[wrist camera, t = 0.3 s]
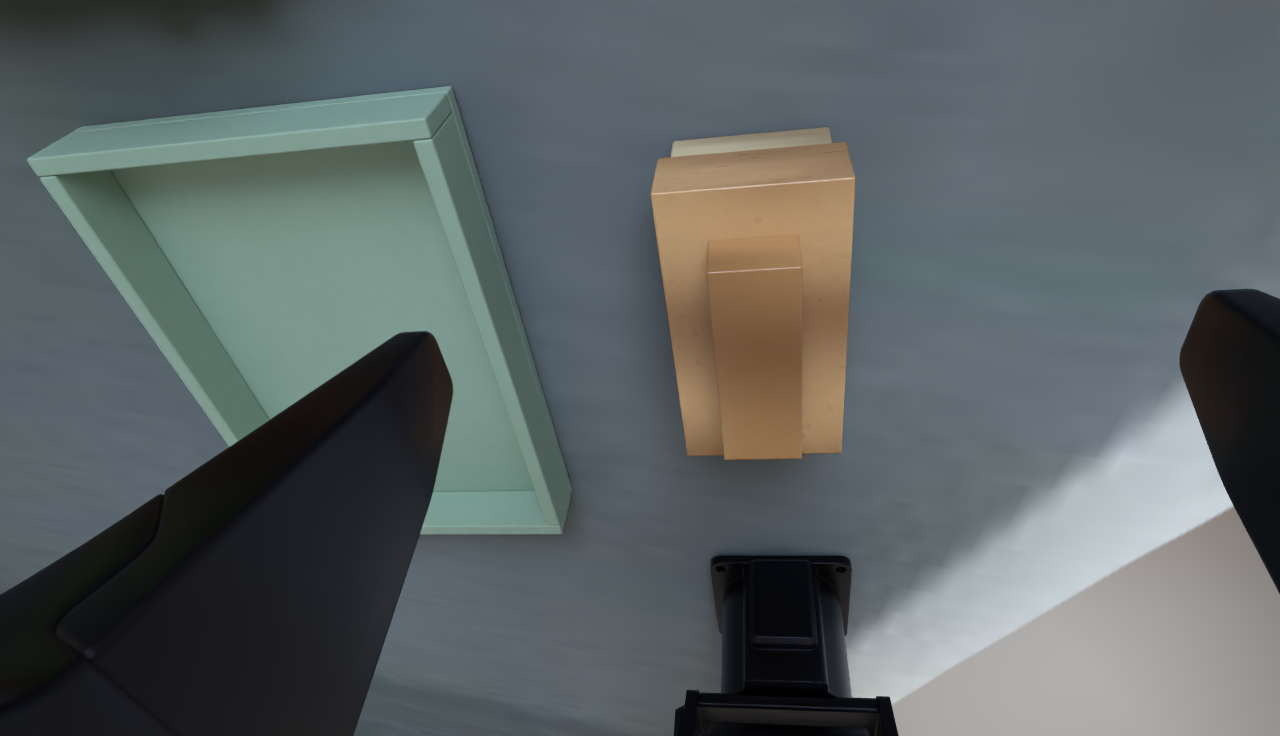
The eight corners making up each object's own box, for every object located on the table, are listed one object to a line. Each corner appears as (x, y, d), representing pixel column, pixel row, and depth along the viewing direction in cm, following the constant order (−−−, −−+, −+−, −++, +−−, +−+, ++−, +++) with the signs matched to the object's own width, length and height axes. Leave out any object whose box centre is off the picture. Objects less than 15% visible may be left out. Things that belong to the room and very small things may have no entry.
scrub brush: (831, 379, 28) (847, 490, 23) (692, 384, 28) (684, 492, 24) (840, 118, 21) (864, 208, 17) (661, 134, 22) (643, 224, 18)
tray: (572, 489, 33) (562, 534, 31) (315, 492, 35) (291, 535, 34) (452, 85, 22) (424, 117, 20) (80, 126, 24) (24, 159, 22)
